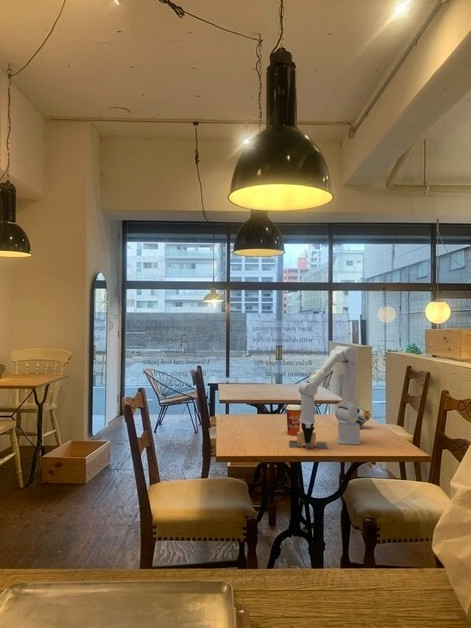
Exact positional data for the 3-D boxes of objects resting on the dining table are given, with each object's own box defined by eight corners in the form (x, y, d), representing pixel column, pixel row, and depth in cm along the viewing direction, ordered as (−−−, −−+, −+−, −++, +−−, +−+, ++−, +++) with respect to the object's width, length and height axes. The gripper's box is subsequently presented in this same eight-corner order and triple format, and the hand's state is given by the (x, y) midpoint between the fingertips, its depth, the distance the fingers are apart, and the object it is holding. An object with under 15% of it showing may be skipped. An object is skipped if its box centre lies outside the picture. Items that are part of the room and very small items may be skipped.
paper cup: (289, 436, 208) (289, 407, 208) (283, 433, 215) (283, 404, 215) (304, 435, 210) (304, 406, 210) (297, 432, 217) (297, 404, 218)
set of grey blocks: (325, 446, 191) (325, 441, 191) (326, 448, 187) (326, 444, 187) (289, 444, 193) (289, 440, 193) (289, 447, 189) (289, 442, 189)
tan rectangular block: (315, 446, 191) (315, 432, 191) (315, 448, 188) (315, 434, 188) (296, 445, 192) (297, 431, 192) (297, 447, 189) (297, 433, 189)
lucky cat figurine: (360, 423, 238) (370, 403, 233) (365, 437, 226) (376, 416, 222) (334, 416, 237) (344, 395, 232) (338, 429, 225) (349, 408, 220)
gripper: (298, 406, 198) (298, 436, 198) (298, 412, 184) (298, 444, 183) (313, 407, 197) (313, 437, 197) (315, 413, 183) (315, 445, 182)
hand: (307, 441), depth 190 cm, fingers open, 5 cm apart
